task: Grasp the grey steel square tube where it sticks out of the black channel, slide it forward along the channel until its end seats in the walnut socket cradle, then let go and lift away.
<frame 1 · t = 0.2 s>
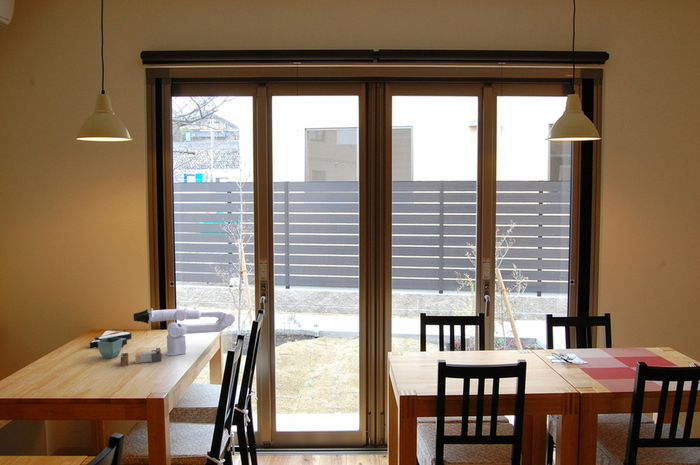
hand: (133, 317, 271), 21 cm above the table, tool horizontal, fingers open, 7 cm apart
sleeve: (156, 360, 268), on the table
flower pot: (110, 357, 274), on the table
decorative sign: (112, 342, 302), on the table
socket: (124, 363, 263), on the table
tube: (148, 356, 266), point 2 cm above the table, slide at 0.0 cm
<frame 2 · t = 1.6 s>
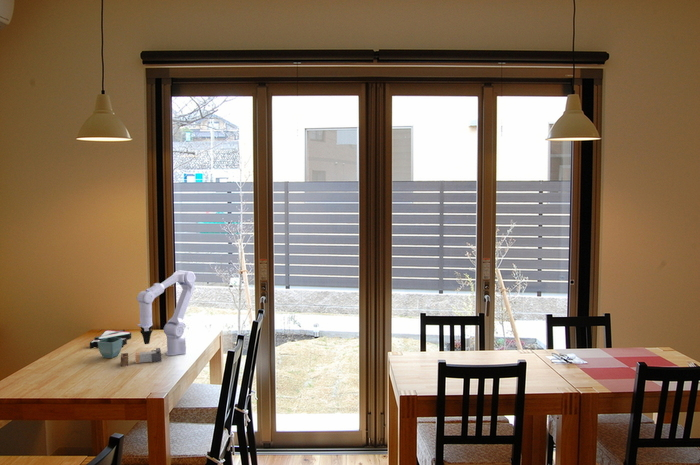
hand: (146, 341, 266), 10 cm above the table, tool pointing down, fingers open, 7 cm apart
nothing on the table moved.
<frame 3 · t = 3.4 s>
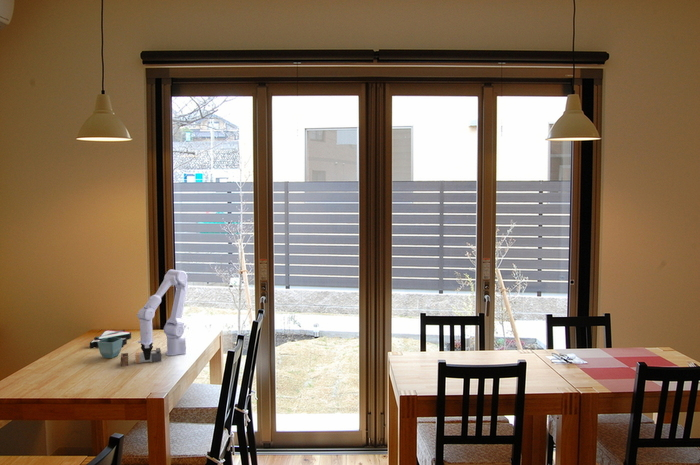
hand: (147, 358, 266), 1 cm above the table, tool pointing down, fingers closed on tube, 4 cm apart
tube: (148, 356, 266), point 2 cm above the table, slide at 0.0 cm, touching gripper
everything else where it was.
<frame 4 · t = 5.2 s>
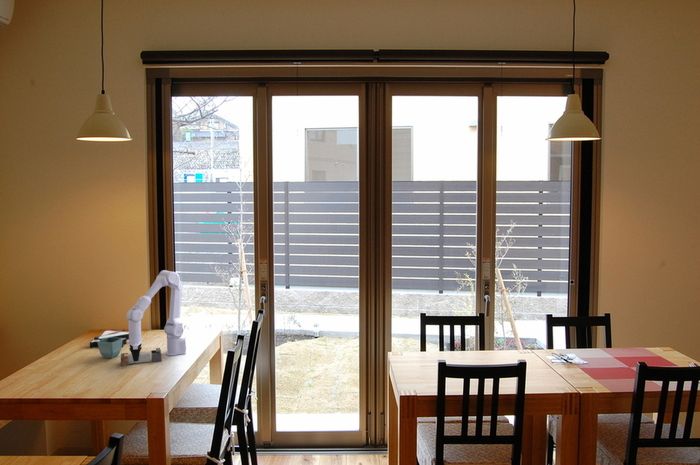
hand: (136, 359, 264), 1 cm above the table, tool pointing down, fingers closed on tube, 4 cm apart
tube: (137, 357, 264), point 2 cm above the table, slide at 5.2 cm, touching gripper
everything else where it was.
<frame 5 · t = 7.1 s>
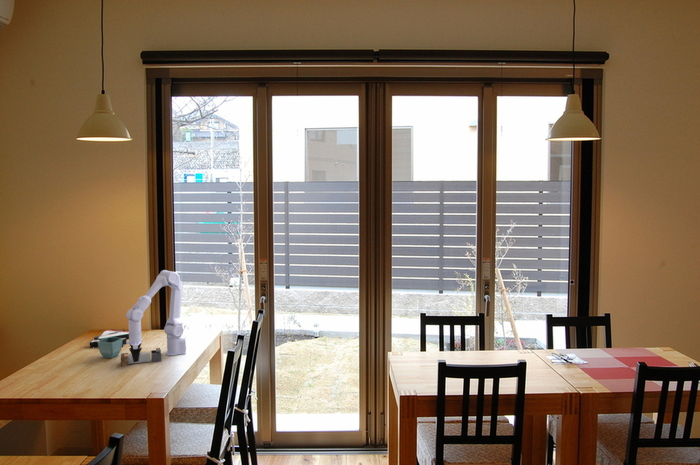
hand: (136, 359, 264), 2 cm above the table, tool pointing down, fingers open, 7 cm apart
tube: (137, 357, 264), point 2 cm above the table, slide at 5.2 cm
everything else where it was.
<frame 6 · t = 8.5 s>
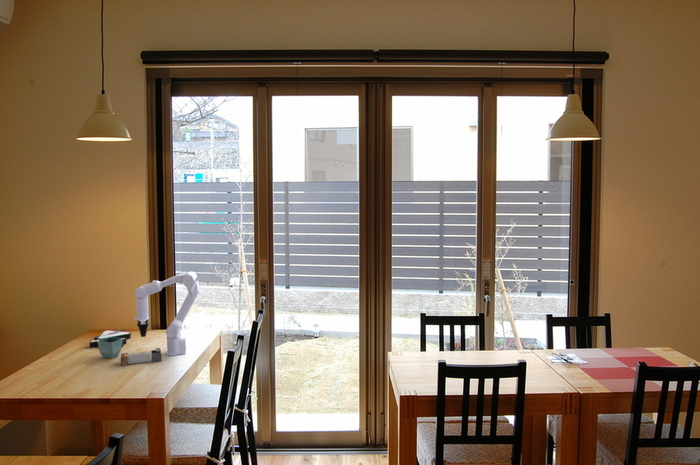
hand: (143, 334, 277), 10 cm above the table, tool pointing down, fingers open, 7 cm apart
nothing on the table moved.
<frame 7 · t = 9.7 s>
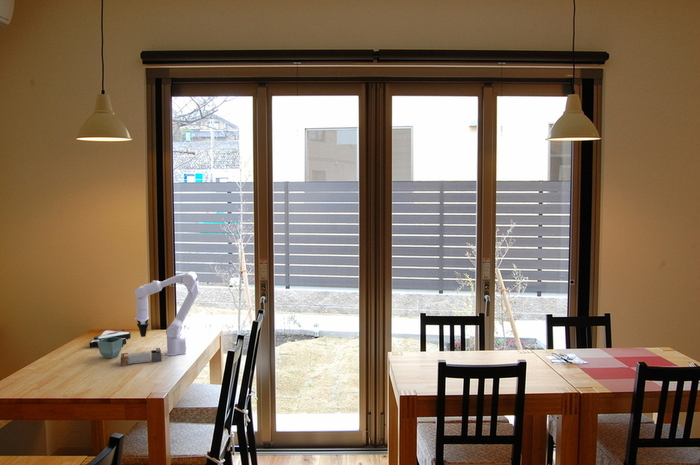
hand: (143, 334, 277), 10 cm above the table, tool pointing down, fingers open, 7 cm apart
nothing on the table moved.
at the end: tube slide at 5.2 cm; the gripper is holding nothing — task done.
